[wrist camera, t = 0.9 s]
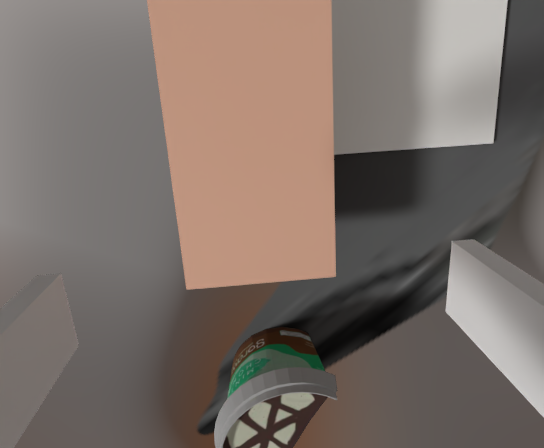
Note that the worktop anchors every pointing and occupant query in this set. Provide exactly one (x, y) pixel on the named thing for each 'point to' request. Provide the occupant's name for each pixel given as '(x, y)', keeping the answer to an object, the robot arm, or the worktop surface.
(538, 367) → the robot arm
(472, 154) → the worktop surface
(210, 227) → the peach flat tile
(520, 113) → the worktop surface
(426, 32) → the grey mat
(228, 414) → the food container
